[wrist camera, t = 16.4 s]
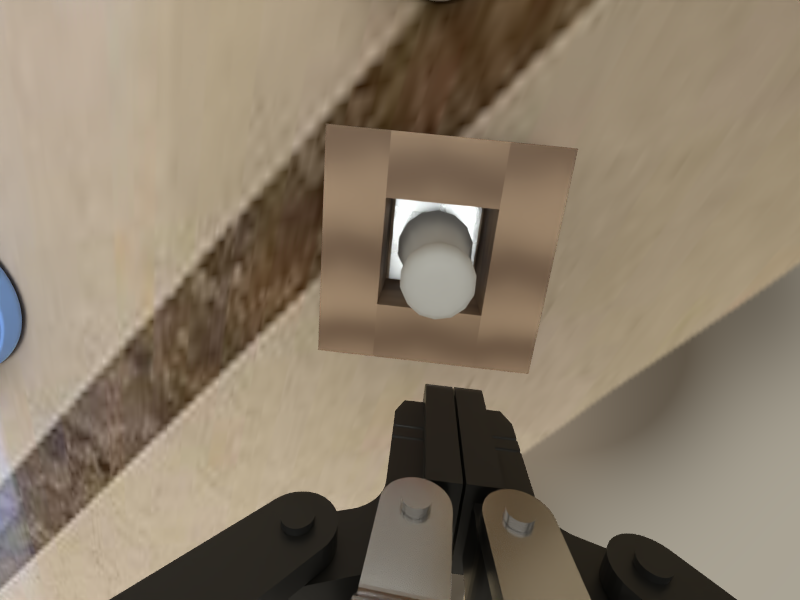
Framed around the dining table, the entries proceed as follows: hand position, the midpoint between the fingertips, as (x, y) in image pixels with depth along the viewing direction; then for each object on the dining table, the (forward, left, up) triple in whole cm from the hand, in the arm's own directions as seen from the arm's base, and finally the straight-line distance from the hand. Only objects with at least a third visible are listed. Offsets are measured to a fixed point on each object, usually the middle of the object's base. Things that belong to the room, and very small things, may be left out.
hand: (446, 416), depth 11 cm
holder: (0, 0, -27) cm, 27 cm away
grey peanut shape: (0, 0, -25) cm, 25 cm away
